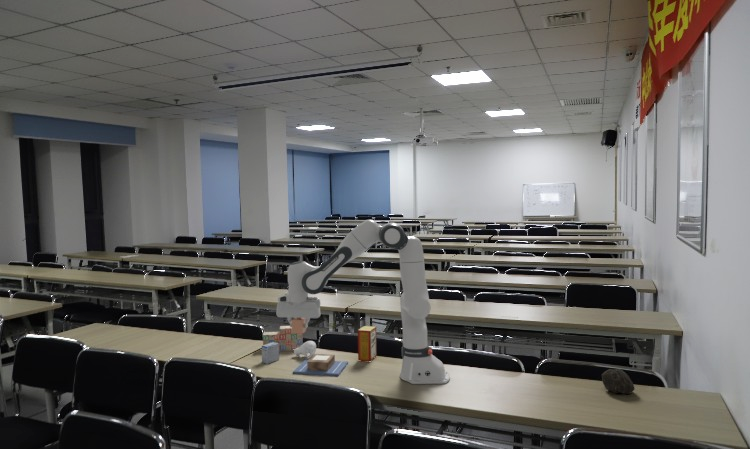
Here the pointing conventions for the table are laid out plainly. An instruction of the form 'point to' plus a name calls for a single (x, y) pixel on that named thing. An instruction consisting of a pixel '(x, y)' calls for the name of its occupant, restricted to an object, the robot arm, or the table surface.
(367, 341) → the baking soda box
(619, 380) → the rock
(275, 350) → the medicine box
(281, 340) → the stack of blocks
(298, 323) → the snap block
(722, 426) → the table surface
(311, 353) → the white animal figurine
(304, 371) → the board
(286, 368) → the table surface
